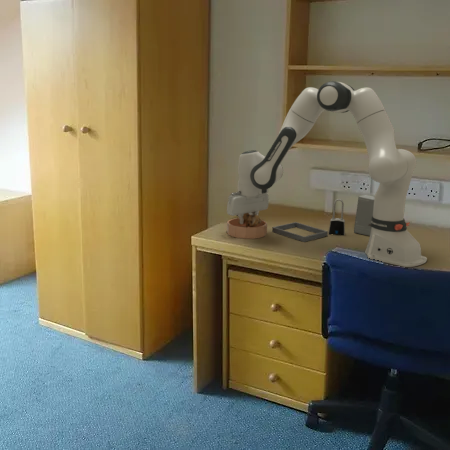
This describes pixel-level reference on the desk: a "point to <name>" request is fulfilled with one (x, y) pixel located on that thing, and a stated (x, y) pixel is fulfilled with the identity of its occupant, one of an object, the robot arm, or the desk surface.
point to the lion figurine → (251, 220)
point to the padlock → (337, 222)
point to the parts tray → (282, 231)
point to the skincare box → (364, 215)
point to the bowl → (246, 229)
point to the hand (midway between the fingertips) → (247, 222)
